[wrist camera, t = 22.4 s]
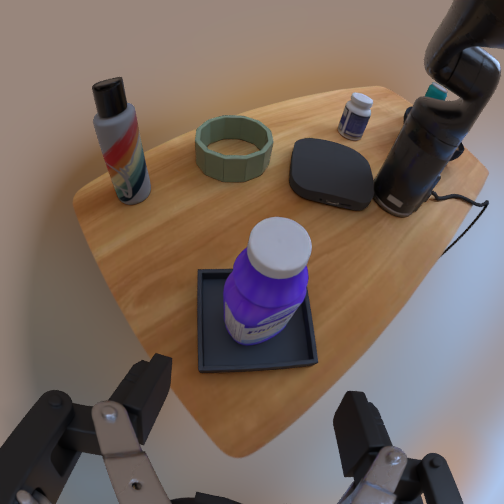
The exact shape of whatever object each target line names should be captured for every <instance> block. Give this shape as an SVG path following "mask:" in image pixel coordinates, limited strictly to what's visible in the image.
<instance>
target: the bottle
mask: <svg viewBox="0 0 504 504" xmlns="http://www.w3.org/2000/svg"><path fill="white" fill-rule="evenodd" d="M311 250H312V244H311V240H310V237H309V235H308V233H307V231H306V230H305V229H304V228H303V227H302V226H301V225H300V224H298V223H297V222H295V221H293V220H291V219H288V218H283V217H271V218H267V219H264V220H263V221H261V222H259V223H258V224H257V225H256V226H255V227H254V228H253V229H252V231H251V234H250V237H249V242H248V246H247V248H245V249H244V250H243V251H242V252H241V253H240V254H239V256H238V257H237V258H236V260H235V263H234V266H233V271H232V272H231V274H230V275H229V276H228V278H227V280H226V282H225V285H224V291H223V301H224V322H225V325H226V329H227V331H228V332H229V334H230V335H231V336H232V338H233V339H234V340H235V341H236V342H237V343H239V344H242V345H255V344H259V343H262V342H264V341H267V340H269V339H270V338H272V337H274V336H276V335H277V334H278V333H280V332H281V331H282V330H283V329H284V328H285V327H286V325H287V323H288V321H289V320H290V318H291V317H292V316H293V314H294V313H295V311H296V310H297V308H298V307H299V306H300V304H301V303H302V302H303V300H304V298H305V296H306V286H307V283H308V270H307V266H306V265H307V262H308V259H309V257H310V254H311Z"/></svg>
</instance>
